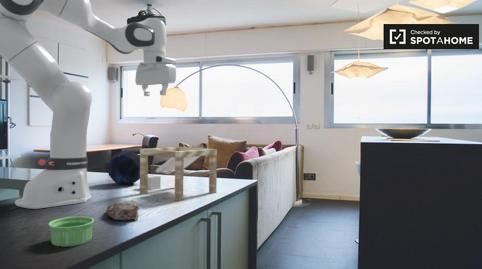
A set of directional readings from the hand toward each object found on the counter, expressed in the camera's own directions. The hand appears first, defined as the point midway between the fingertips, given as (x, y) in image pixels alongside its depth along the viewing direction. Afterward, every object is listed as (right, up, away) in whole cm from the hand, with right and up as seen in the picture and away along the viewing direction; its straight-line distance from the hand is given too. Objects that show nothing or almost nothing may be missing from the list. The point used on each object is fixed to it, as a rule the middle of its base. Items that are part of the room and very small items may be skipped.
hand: (154, 95), depth 144 cm
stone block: (-4, -35, +2) cm, 35 cm away
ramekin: (-3, -39, -65) cm, 76 cm away
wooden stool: (+11, -37, -8) cm, 40 cm away
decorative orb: (-14, -37, +9) cm, 41 cm away
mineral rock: (+1, -39, -44) cm, 58 cm away
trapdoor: (+12, -26, -9) cm, 30 cm away
